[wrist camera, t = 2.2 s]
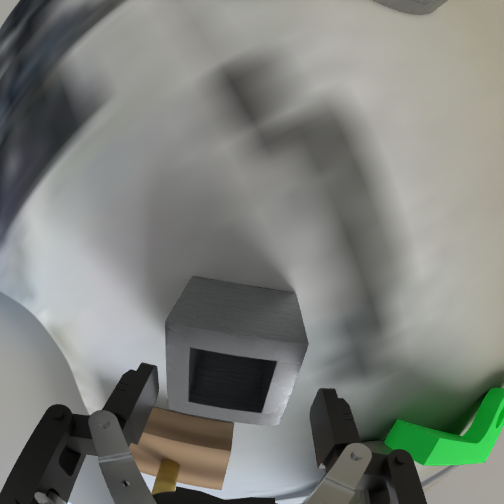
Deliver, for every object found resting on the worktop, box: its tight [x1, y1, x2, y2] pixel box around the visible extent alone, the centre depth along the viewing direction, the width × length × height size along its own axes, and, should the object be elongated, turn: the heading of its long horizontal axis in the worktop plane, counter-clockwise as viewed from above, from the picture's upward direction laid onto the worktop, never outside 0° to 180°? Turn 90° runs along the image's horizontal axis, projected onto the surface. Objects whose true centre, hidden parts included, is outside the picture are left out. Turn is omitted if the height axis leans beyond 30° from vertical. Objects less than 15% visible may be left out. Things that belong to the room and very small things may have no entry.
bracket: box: [384, 387, 504, 466], centre depth 18 cm, size 20×10×7 cm, turn 56°
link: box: [165, 276, 308, 426], centre depth 14 cm, size 6×6×5 cm
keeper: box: [129, 407, 234, 495], centre depth 17 cm, size 10×10×8 cm
